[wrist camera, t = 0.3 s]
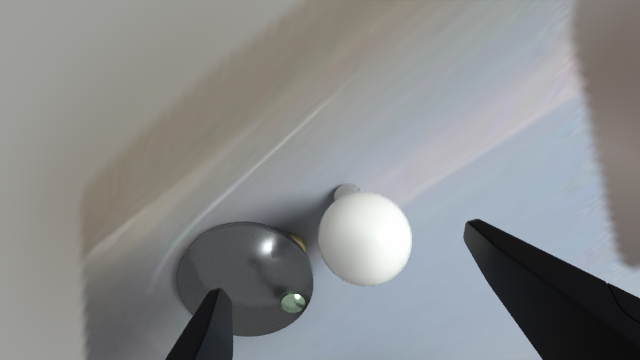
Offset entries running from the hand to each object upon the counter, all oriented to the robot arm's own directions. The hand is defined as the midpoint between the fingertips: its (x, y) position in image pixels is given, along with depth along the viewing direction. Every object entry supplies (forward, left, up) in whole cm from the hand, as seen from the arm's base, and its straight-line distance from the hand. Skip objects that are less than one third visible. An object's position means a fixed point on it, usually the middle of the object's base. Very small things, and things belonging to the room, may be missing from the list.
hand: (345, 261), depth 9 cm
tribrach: (-14, +1, -16) cm, 21 cm away
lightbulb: (-2, -4, -16) cm, 16 cm away
